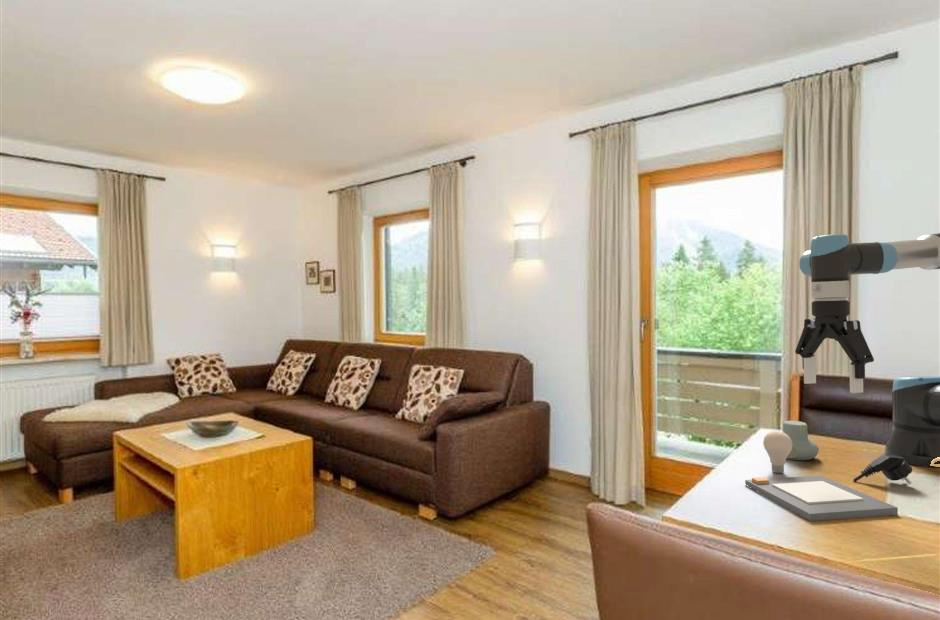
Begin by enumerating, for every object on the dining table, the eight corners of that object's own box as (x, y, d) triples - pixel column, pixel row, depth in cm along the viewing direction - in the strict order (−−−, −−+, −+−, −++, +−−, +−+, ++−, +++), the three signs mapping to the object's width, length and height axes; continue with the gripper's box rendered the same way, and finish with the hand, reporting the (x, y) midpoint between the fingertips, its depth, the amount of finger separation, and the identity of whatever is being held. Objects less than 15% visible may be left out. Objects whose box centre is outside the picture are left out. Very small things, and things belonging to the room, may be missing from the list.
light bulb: (795, 473, 133) (795, 430, 133) (789, 479, 128) (789, 435, 128) (766, 467, 138) (766, 426, 138) (760, 473, 133) (759, 431, 133)
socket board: (820, 481, 127) (820, 472, 127) (897, 514, 107) (897, 503, 107) (745, 486, 124) (745, 476, 124) (809, 521, 105) (809, 509, 105)
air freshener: (824, 461, 142) (824, 425, 142) (804, 465, 139) (804, 428, 139) (786, 451, 152) (786, 417, 152) (767, 454, 149) (767, 420, 149)
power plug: (845, 474, 129) (888, 446, 127) (866, 499, 128) (910, 471, 126) (857, 482, 124) (903, 453, 122) (880, 508, 123) (925, 479, 121)
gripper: (778, 300, 136) (780, 380, 136) (861, 300, 111) (863, 398, 112) (804, 299, 137) (806, 379, 137) (892, 298, 112) (894, 396, 113)
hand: (832, 387), depth 125 cm, fingers open, 13 cm apart
